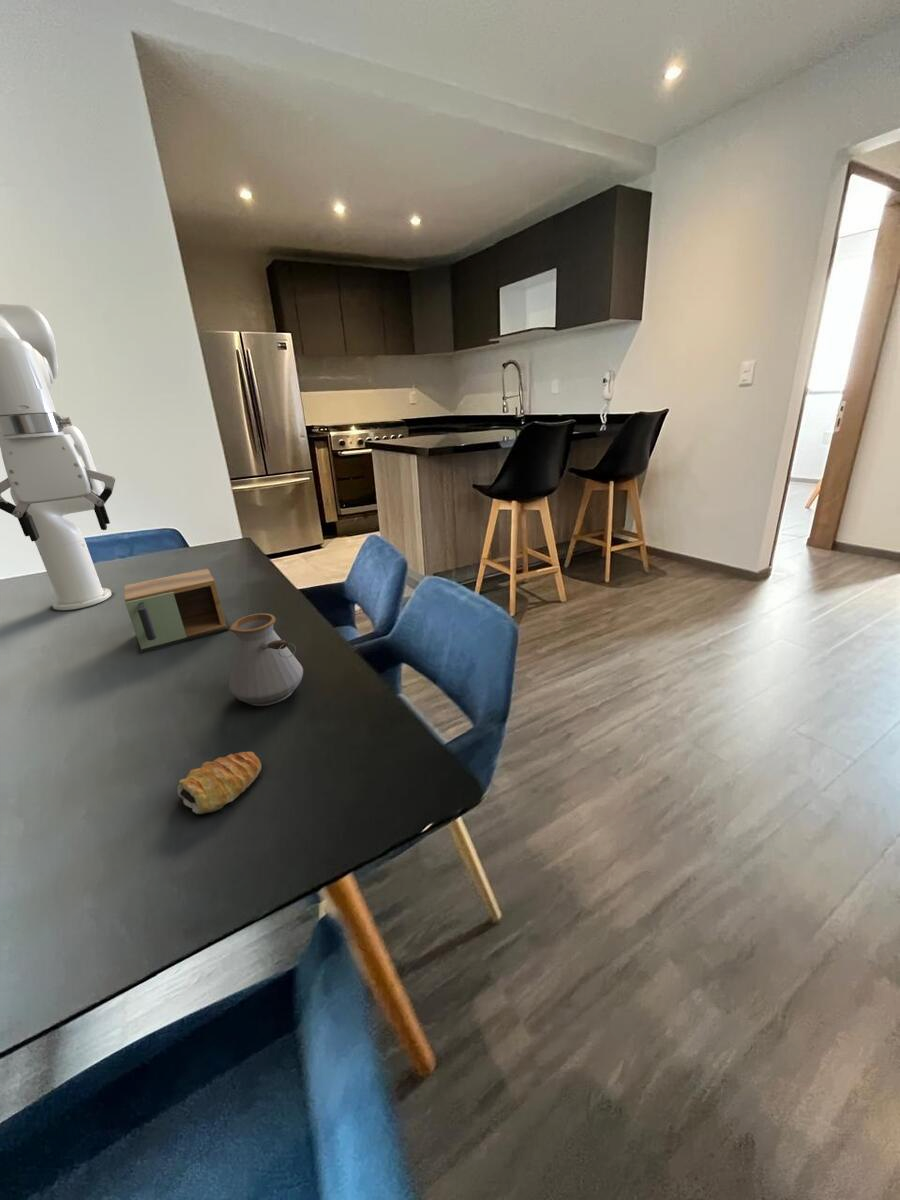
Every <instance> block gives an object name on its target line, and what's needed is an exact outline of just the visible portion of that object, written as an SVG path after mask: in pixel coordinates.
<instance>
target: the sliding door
mask: <svg viewBox="0 0 900 1200" xmlns="http://www.w3.org/2000/svg"><path fill="white" fill-rule="evenodd" d="M124 603H125V606H126V609H127V610H126V611H127V612H128V615H129V618H130V620H131V621H130V622H131V624H132V627H133V630H134V633H135V636H136V639H137V642H138V644H139V648H140V650H141V649H145V648H149V647H153V646H156V645H160V644H164V643H168V642H172V641H175V640H179V639H183V638H187V636H186V633H185V630H184V626H183V623H182V620H181V616H180V613H179V610H178V606H177V603H176V600H175V596H174V593H173V592H169V593H165V594H160V595H156V596H151V597H147V598H142V599H138V600H133V601H129V602H125V601H124Z"/></svg>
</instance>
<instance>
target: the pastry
mask: <svg viewBox="0 0 900 1200" xmlns="http://www.w3.org/2000/svg"><path fill="white" fill-rule="evenodd" d="M261 770H262V763H261V760H260V759H259V757H258V756H257V755H256V754H255V753H254V752H253V751H239V752H236V753H229V754H228V755H226V756H224V757H223V756H221V757H220V756H218V757H217V758H216V759H214V760H212V761H204V762H203V763H202V764H201V766H200V767H197V768H193V769H190V770H189V771H188V773H187V776H186V778H183V779H180V780H179V782H178V786H177V787H176V788H177V790H176V792H177V796H178V797H179V798H180V799H182V803H183V805H185V807H188V808H190V809H191V810H192V812H193V813H195V814H196V815H203V814H209V813H211V814H212V813H215V812H216V811H218V810H221V809H223V807H224V806H225V805H227V804H229V803H231V802H233V801H234V800H235V799H237V798H238V797H239V796H240V794H242V793H243V792H245V791H246V789H247V788H249V787H250V785H251V784H252V783H253V782H254V781H256V779H257V778H258V775H259V773H261Z"/></svg>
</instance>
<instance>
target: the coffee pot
mask: <svg viewBox="0 0 900 1200" xmlns="http://www.w3.org/2000/svg"><path fill="white" fill-rule="evenodd" d="M275 623H276V617H275V616H274V614H271V613H254V614H250V615H246V616H243V617H241V618H238V619H236V620H235V621H234V622H233V623H232V624H231V626H230V628H229V631H230V632H232V633H233V634H234V635H235V636H236V637H238V641H237V645H236V650H235V655H234V658H233V663H232V668H231V673H230V677H229V682H228V690H229V692H230V693H231V695H233V697H235V698H236V699H237V700H239V701H241V702H242V703H243V702H244V703H246V704H249V705H251V706H256V707H265V706H271V705H274V704H277V703H280V702H282V701H284V700H286V699H287V698H289V697H290V696H291V695H292V694H293V692H294V691H295V690H296V689H297V688H298V687H299V685H300V684H301V681H302V679H303V677H304V668H303V666H302V665H301V663H300V661H298V659H297V658H296V656H295V653H296V651H297V646H296V645H295V644H294V643H290V642H288V641H287V640H284V639H281V638H280V636H279V635H278V634H277V633H276V631H275V630H274V624H275ZM289 645H292V646H293V647H294V651H293V653H292V651H291V650H290V649H289V648H288V646H289Z"/></svg>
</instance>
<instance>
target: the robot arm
mask: <svg viewBox="0 0 900 1200" xmlns="http://www.w3.org/2000/svg"><path fill="white" fill-rule="evenodd" d="M54 335H55V334H54V332H53V330H52V327H51V325H50V323H49V321H48V320H47V318H46V317H45V316H44V315H43V314H42V313H41V312H40V311H39V310H38V309H36V308H34V307H32V306H29V305H25V304H6V303H0V453H1V457H2V458H1V459H2V461H3V465H4V468H5V472H6V476H7V477H6V478H5V479H3V480H2V481H0V510H2V511H4V512H6V513H8V514H10V515H12V516H13V517H14V518H17V520H18V522H19V525H20V527H21V530H22V532H23V535H24V536H25V537H29V539H30V541H31V542H34V544H35V546H36V549H37V551H38V553H39V556H40V558H41V561H42V563H43V566H44V568H45V571H46V573H47V577H48V578H49V581H50V584H51V586H52V588H53V590H54V593H55V596H56V599H55V600H53V601H52V603H51V607H52V609H53V610H56V611H73V610H79V609H84V608H87V607H91V606H94V605H96V604H99V603H102V602H104V601H107V600H108V599H109V598H110V597H111V596H112V591H111V589H110V588H106V587H102V584H101V581H100V579H99V576H98V573H97V570H96V567H95V564H94V562H93V559H92V556H91V554H90V550H89V548H88V545H87V542H86V540H85V537H84V534H83V532H82V530H81V529H80V528H79V526H78V525H76V524H75V523H73V522H71V521H70V520H67V519H66V518H64V517H63V516H65V515H69V514H75V513H82V512H88V511H93V510H94V514H95V516H96V519H97V522H98V525H99V527H100V530H102V531H107V529H108V526H107V525H110V524H111V522H110V519H109V515H108V512H107V509H106V506H105V504H106V503H107V501H108V500H109V498H110V497H111V496H112V494H113V491H114V487H115V483H116V478H115V476H113V475H109V474H105V473H103V472H99V471H98V470H97V467H96V465H95V462H94V459H93V456H92V453H91V451H90V447H89V445H88V442H87V440H86V438H85V436H84V434H83V432H81V430H80V429H79V428H78V427H77V426H76V425H73V424H72V420H71V419H70V416H65V417H64V416H61V415H59V414H58V413H57V411H56V410H57V409H56V408H55V405H54V401H53V399H52V396H51V393H50V390H51V388H52V384H54V380H55V379H57V378H58V376H59V363H58V351H57V344H56V339H55V336H54ZM102 482H103V483H104V487H103V485H102ZM8 489H9V492H10V497H11V499H12V502H13V503H11V502H10V501H7V500H6V499H5V498H4V497H3V496H2V495H1V494H3V493H4V492H5V491H7V490H8Z"/></svg>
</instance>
